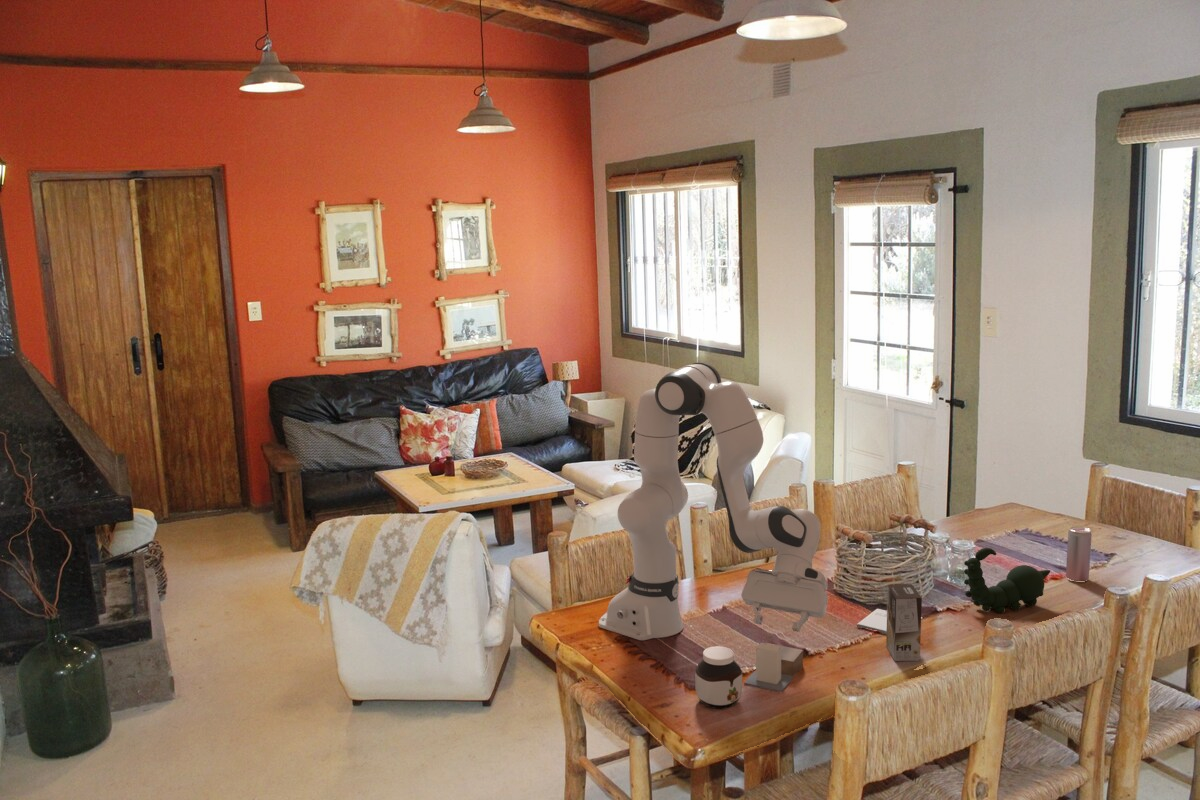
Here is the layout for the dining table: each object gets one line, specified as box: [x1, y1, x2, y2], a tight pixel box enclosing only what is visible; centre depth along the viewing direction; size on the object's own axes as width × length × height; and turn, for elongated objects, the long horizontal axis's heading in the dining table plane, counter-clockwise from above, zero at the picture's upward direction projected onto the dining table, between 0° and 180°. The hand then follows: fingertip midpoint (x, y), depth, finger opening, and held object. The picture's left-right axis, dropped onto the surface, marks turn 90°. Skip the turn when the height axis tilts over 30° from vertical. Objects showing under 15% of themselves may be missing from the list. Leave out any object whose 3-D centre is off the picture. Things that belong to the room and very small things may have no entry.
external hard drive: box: [856, 608, 887, 635], centre depth 266 cm, size 2×8×12 cm
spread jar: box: [694, 645, 743, 710], centre depth 228 cm, size 12×11×12 cm
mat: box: [743, 669, 794, 693], centre depth 236 cm, size 9×8×1 cm
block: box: [755, 642, 781, 684], centre depth 235 cm, size 5×3×8 cm, turn 60°
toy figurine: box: [963, 547, 1051, 614], centre depth 271 cm, size 9×19×25 cm
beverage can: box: [1065, 525, 1093, 581], centre depth 289 cm, size 6×6×15 cm
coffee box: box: [885, 583, 923, 662], centre depth 247 cm, size 9×6×16 cm
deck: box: [766, 642, 804, 678], centre depth 242 cm, size 9×7×4 cm
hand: (776, 626), depth 239 cm, fingers open, 8 cm apart
